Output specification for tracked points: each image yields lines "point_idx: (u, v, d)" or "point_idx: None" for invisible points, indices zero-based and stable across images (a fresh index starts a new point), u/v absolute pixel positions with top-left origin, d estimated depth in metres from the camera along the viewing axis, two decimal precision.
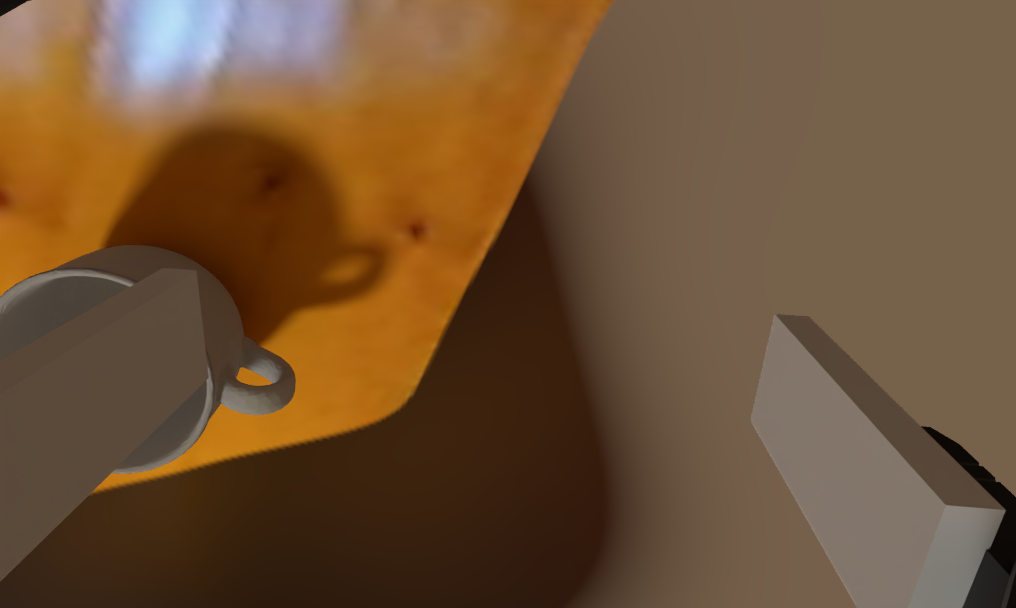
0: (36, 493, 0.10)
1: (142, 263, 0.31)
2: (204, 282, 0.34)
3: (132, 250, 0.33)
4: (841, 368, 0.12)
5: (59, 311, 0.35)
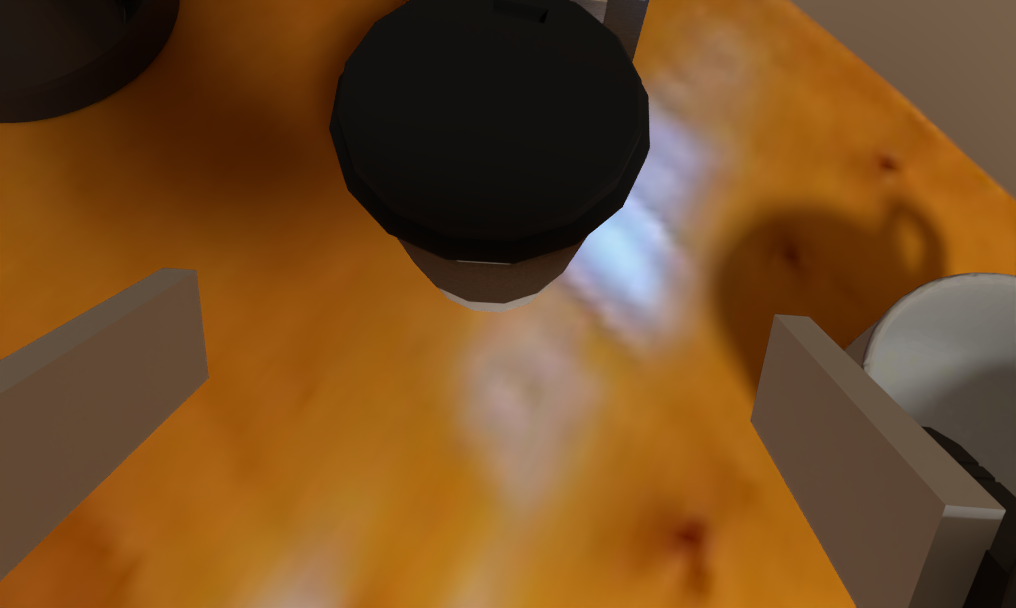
0: (36, 493, 0.10)
1: None
2: None
3: None
4: (841, 368, 0.12)
5: None
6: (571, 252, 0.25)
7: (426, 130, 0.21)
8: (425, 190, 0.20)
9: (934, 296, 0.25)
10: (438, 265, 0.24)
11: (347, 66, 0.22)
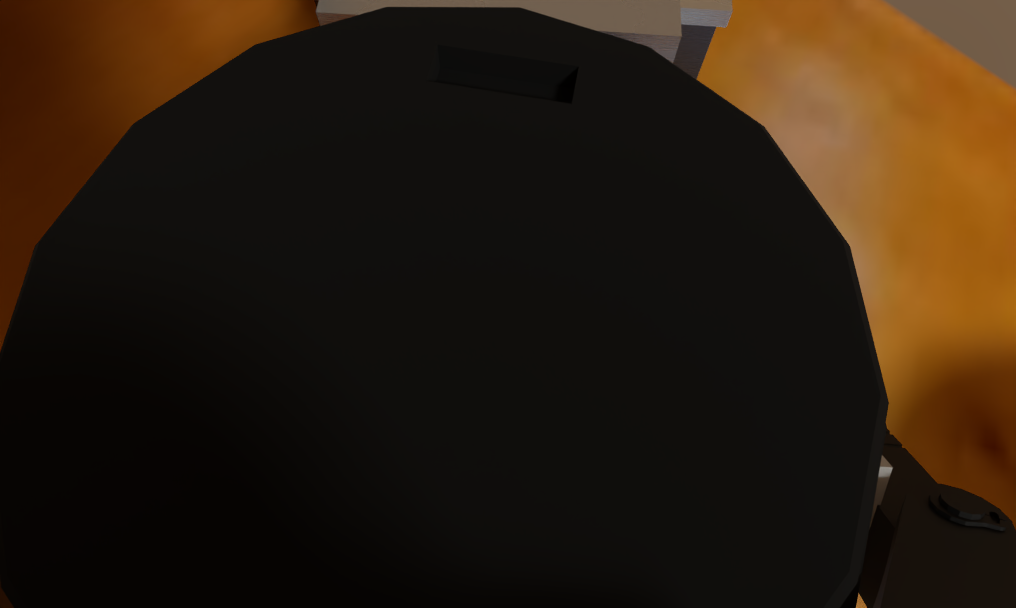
0: None
1: None
2: None
3: None
4: None
5: None
6: None
7: (243, 463, 0.07)
8: None
9: None
10: None
11: (32, 261, 0.08)
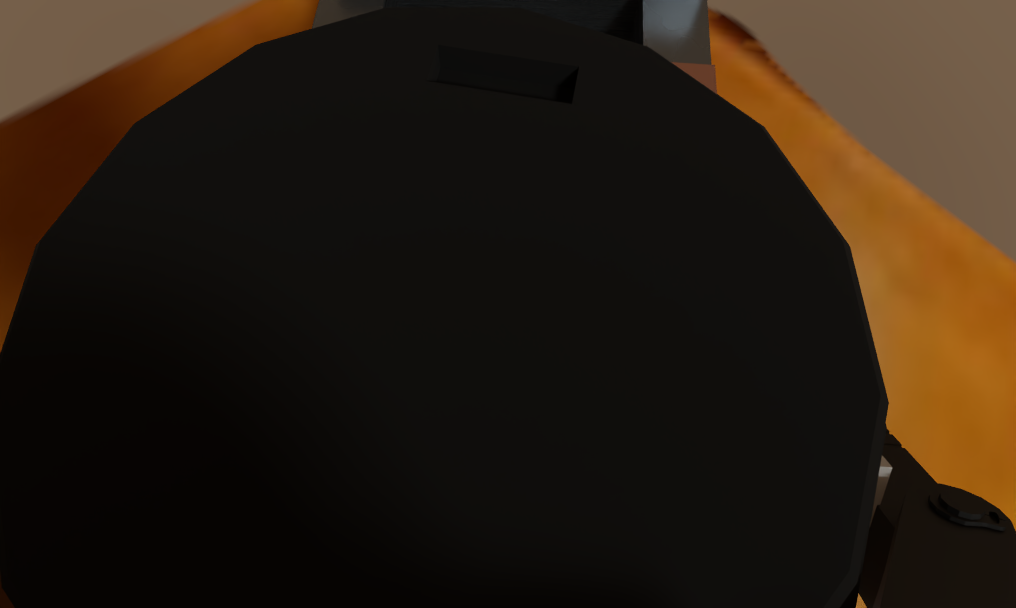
0: None
1: None
2: None
3: None
4: None
5: None
6: None
7: (244, 463, 0.07)
8: None
9: None
10: None
11: (32, 261, 0.08)
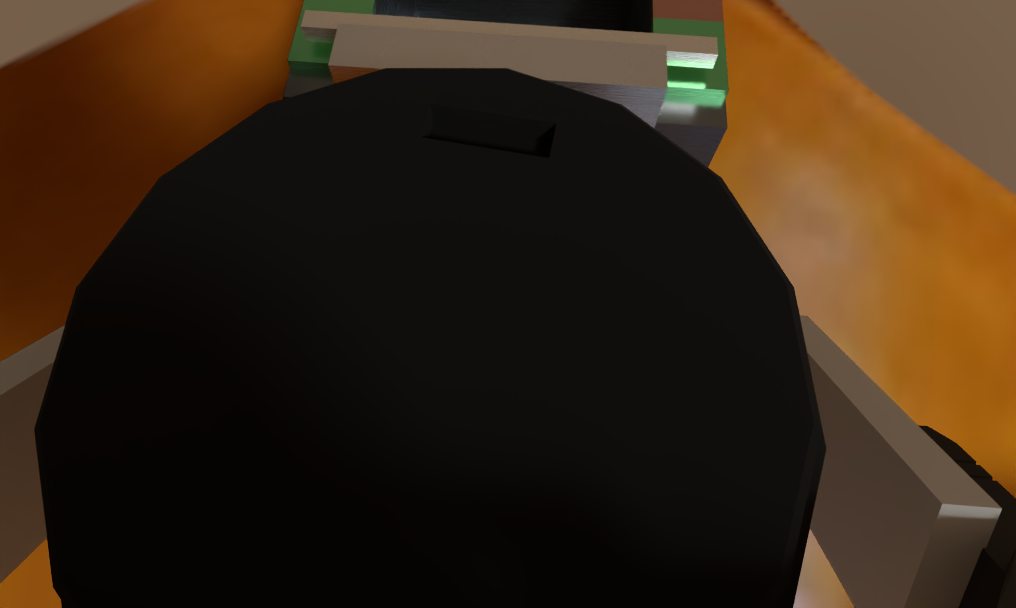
0: (39, 492, 0.10)
1: None
2: None
3: None
4: (839, 367, 0.12)
5: None
6: None
7: (259, 480, 0.08)
8: None
9: None
10: None
11: (74, 301, 0.09)
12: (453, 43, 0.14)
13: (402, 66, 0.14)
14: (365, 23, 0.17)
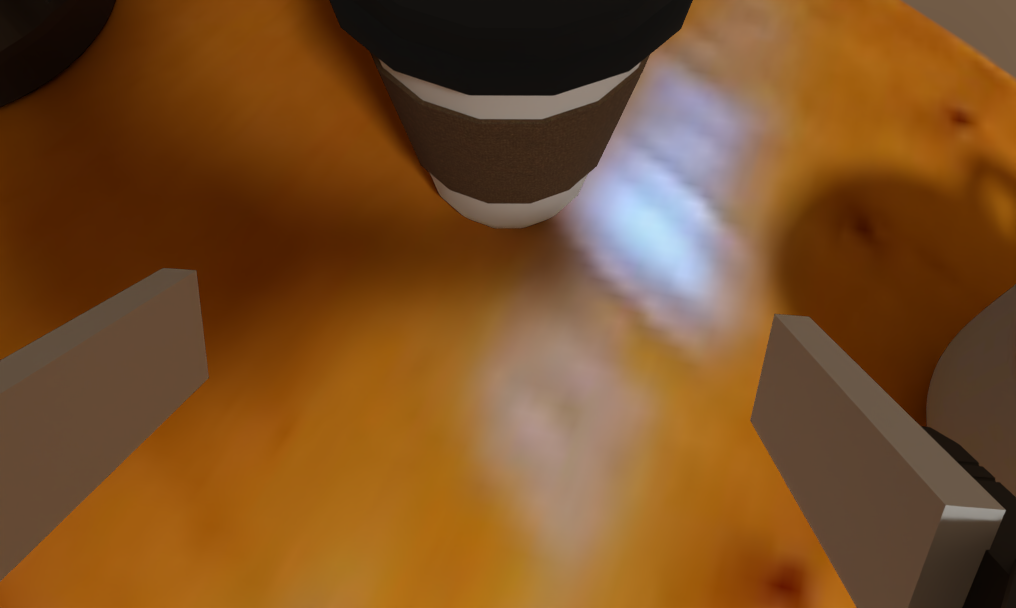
0: (36, 493, 0.10)
1: (997, 302, 0.20)
2: None
3: (955, 349, 0.21)
4: (841, 368, 0.12)
5: None
6: (611, 121, 0.21)
7: None
8: None
9: None
10: (454, 136, 0.20)
11: None
12: None
13: None
14: None
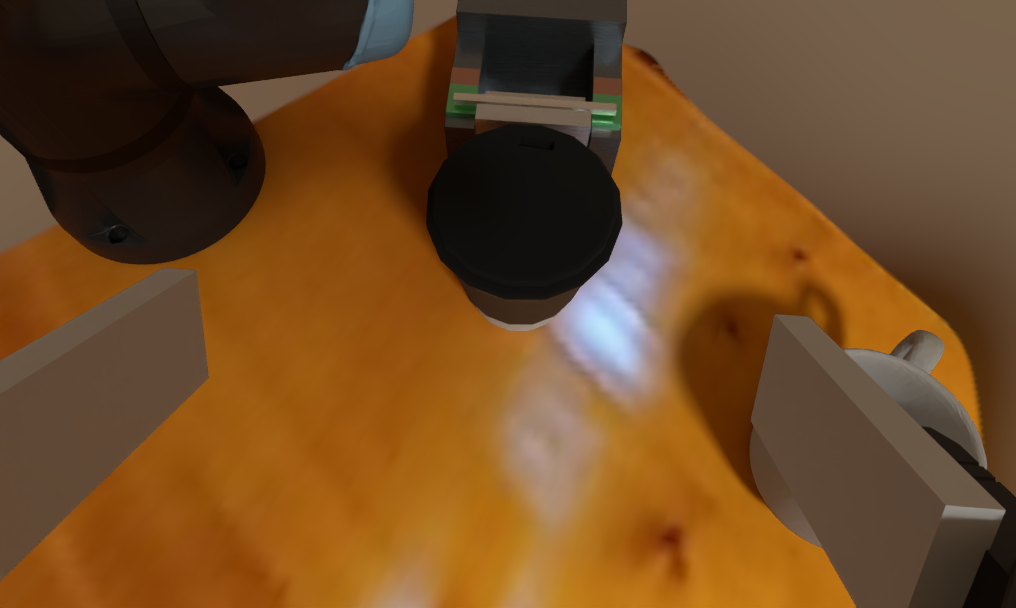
0: (36, 493, 0.10)
1: None
2: None
3: None
4: (841, 368, 0.12)
5: None
6: (576, 288, 0.39)
7: (488, 222, 0.34)
8: (492, 259, 0.34)
9: None
10: (493, 302, 0.38)
11: (436, 185, 0.35)
12: (517, 110, 0.41)
13: (500, 119, 0.41)
14: (478, 98, 0.44)
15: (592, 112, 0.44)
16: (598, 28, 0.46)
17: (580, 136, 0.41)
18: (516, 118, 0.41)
